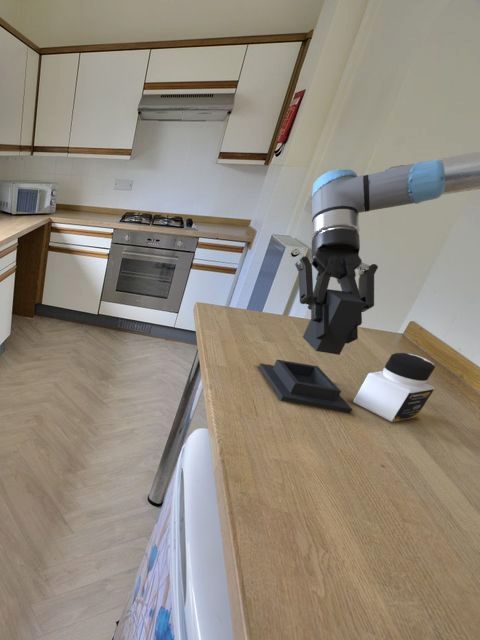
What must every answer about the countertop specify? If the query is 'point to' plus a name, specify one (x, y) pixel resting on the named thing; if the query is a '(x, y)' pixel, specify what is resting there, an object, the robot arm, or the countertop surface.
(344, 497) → the countertop surface
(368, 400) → the medicine bottle
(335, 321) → the upright block
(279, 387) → the base pad
